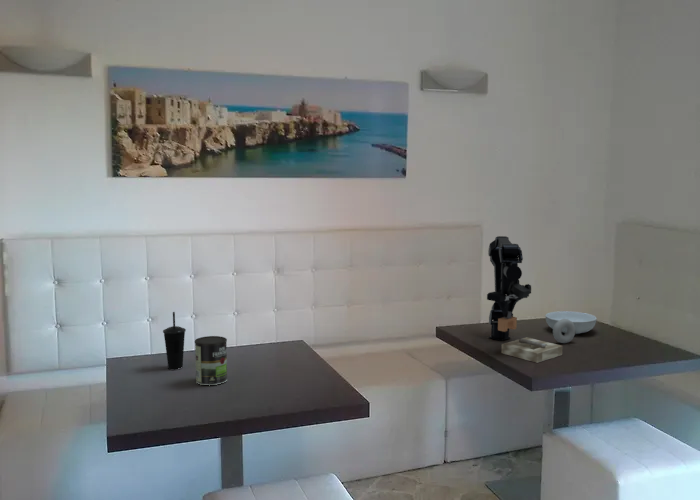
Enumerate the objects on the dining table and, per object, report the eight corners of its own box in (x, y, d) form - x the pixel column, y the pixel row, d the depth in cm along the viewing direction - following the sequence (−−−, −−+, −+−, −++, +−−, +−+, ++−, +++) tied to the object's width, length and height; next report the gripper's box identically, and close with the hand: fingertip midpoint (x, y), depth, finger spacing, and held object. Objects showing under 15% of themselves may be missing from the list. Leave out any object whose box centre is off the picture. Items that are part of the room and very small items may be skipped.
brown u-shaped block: (497, 330, 254) (498, 312, 253) (510, 327, 258) (510, 309, 258) (504, 331, 251) (504, 313, 251) (516, 328, 256) (517, 311, 255)
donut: (571, 341, 269) (572, 317, 267) (576, 343, 265) (577, 319, 264) (550, 343, 266) (551, 318, 264) (555, 345, 262) (556, 320, 261)
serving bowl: (560, 323, 299) (561, 308, 298) (604, 332, 284) (605, 316, 283) (535, 331, 285) (536, 315, 284) (580, 340, 270) (581, 324, 269)
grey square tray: (501, 353, 251) (501, 340, 251) (526, 345, 261) (527, 333, 261) (537, 362, 239) (537, 349, 238) (562, 354, 249) (562, 341, 249)
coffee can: (234, 379, 219) (233, 338, 218) (212, 388, 211) (211, 345, 209) (211, 374, 225) (210, 334, 223) (189, 382, 216) (187, 340, 214)
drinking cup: (190, 365, 234) (189, 310, 232) (178, 372, 227) (176, 315, 225) (172, 363, 237) (170, 309, 234) (159, 369, 230) (157, 313, 227)
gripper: (510, 281, 240) (509, 323, 242) (541, 276, 252) (539, 317, 254) (486, 277, 249) (485, 318, 251) (517, 273, 261) (516, 312, 262)
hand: (507, 316), depth 254 cm, fingers closed on brown u-shaped block, 2 cm apart
